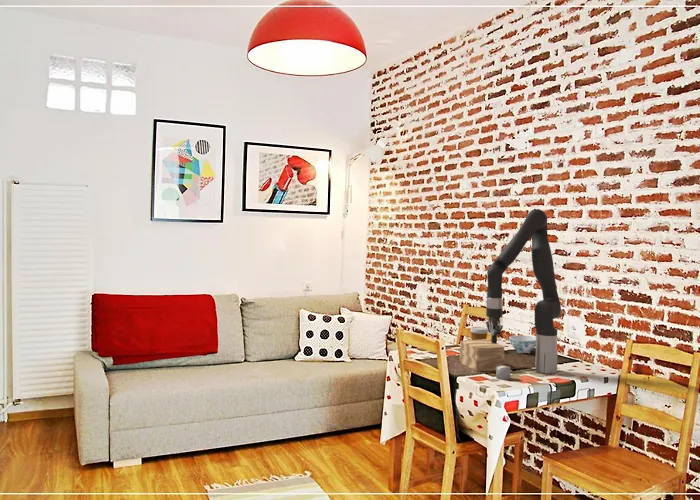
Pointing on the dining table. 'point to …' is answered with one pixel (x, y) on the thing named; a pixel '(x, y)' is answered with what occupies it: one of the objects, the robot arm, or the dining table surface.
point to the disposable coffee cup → (479, 333)
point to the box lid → (482, 344)
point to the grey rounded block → (503, 372)
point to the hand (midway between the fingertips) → (493, 342)
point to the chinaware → (523, 343)
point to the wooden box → (481, 357)
